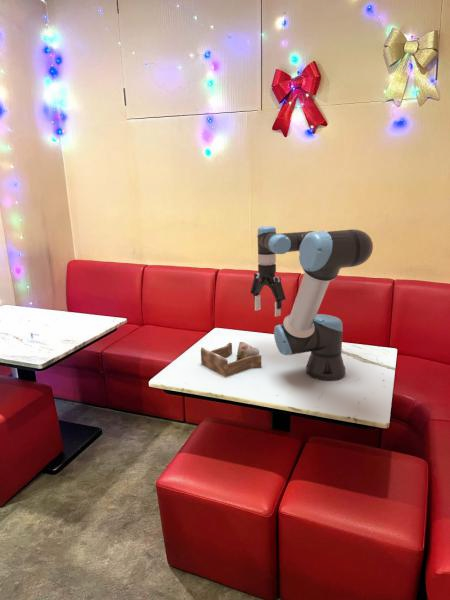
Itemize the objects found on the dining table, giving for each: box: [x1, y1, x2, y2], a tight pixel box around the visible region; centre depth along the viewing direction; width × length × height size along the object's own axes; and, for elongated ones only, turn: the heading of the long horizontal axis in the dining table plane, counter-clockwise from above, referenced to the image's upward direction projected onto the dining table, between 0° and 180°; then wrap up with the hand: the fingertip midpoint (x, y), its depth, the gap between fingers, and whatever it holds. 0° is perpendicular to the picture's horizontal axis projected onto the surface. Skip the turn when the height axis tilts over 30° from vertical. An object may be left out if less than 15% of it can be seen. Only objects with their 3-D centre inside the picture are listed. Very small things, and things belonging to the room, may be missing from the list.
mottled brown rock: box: [236, 341, 260, 360], centre depth 183 cm, size 8×10×10 cm
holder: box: [200, 342, 262, 378], centre depth 177 cm, size 21×18×8 cm
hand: (267, 312), depth 186 cm, fingers open, 12 cm apart
